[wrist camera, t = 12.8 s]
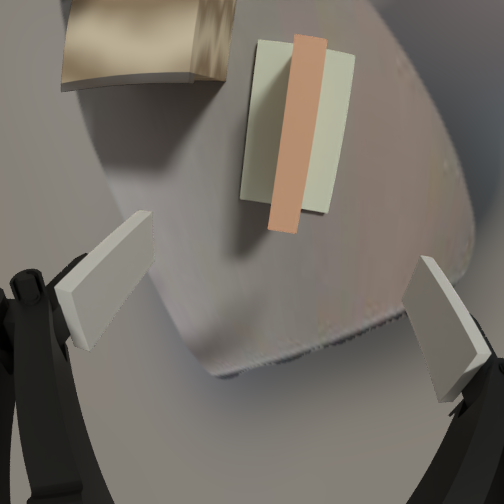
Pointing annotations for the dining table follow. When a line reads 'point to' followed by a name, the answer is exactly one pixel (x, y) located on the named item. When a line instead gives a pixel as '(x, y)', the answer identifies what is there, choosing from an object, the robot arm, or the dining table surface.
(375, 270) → the dining table surface
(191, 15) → the brown boxy piece
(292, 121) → the tan rectangular slab
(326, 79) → the mat
